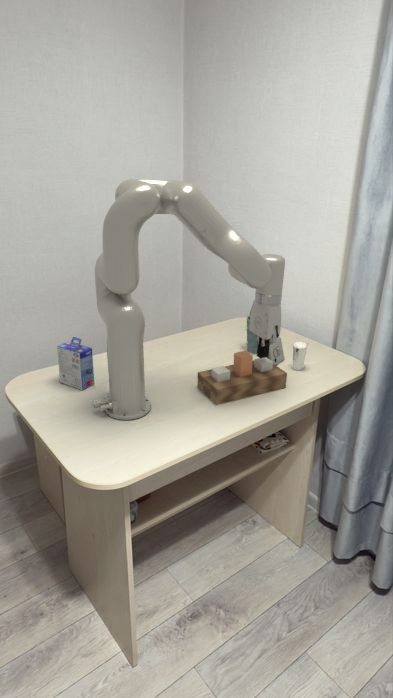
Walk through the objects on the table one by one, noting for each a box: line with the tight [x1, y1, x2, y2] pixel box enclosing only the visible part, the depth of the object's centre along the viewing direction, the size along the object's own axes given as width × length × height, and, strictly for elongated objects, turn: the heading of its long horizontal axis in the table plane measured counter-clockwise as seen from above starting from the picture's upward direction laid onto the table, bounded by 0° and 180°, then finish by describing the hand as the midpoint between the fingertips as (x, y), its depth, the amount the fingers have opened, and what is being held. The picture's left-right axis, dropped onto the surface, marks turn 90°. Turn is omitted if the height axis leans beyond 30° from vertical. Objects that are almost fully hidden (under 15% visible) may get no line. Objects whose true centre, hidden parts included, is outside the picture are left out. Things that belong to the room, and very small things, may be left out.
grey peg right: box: [254, 357, 273, 372], centre depth 144 cm, size 4×4×6 cm
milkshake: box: [292, 341, 309, 371], centre depth 153 cm, size 5×5×10 cm
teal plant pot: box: [246, 314, 258, 355], centre depth 167 cm, size 10×10×12 cm
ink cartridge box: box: [56, 336, 95, 391], centre depth 141 cm, size 10×6×14 cm, turn 58°
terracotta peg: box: [233, 350, 254, 377], centre depth 139 cm, size 4×4×6 cm
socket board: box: [197, 359, 288, 406], centre depth 141 cm, size 24×12×5 cm, turn 117°
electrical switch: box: [267, 336, 285, 366], centre depth 158 cm, size 8×5×8 cm, turn 141°
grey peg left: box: [211, 365, 230, 382], centre depth 138 cm, size 4×4×6 cm
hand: (262, 356), depth 142 cm, fingers closed
